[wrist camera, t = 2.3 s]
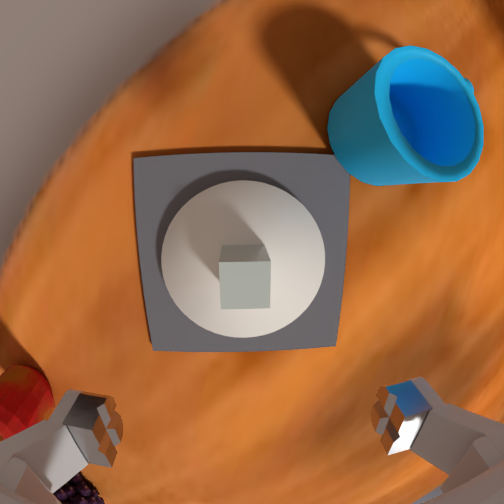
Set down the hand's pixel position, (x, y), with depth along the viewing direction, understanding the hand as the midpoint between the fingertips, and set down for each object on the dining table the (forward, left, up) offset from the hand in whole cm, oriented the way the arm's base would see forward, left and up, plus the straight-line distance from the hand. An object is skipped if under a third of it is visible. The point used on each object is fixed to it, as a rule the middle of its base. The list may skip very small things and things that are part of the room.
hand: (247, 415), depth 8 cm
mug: (-12, -11, -16) cm, 23 cm away
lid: (0, 0, -15) cm, 15 cm away
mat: (0, 0, -16) cm, 16 cm away
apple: (+25, +15, -16) cm, 33 cm away
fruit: (+29, +37, -16) cm, 50 cm away
